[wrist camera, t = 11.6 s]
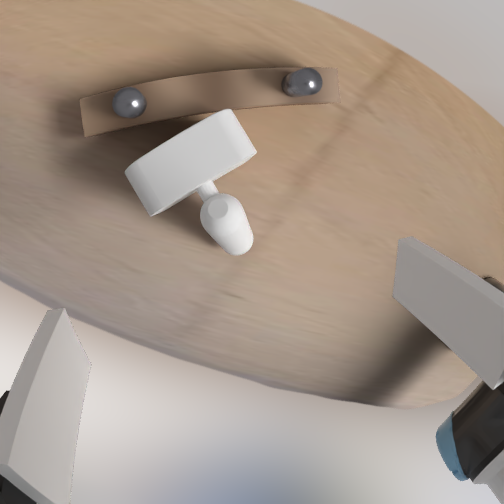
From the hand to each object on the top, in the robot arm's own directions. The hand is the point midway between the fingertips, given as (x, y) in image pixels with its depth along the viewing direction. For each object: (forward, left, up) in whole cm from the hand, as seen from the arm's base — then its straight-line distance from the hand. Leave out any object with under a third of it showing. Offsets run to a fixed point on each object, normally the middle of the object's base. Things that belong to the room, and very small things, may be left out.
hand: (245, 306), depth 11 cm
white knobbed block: (0, -1, -18) cm, 18 cm away
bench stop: (+9, -2, -18) cm, 20 cm away
